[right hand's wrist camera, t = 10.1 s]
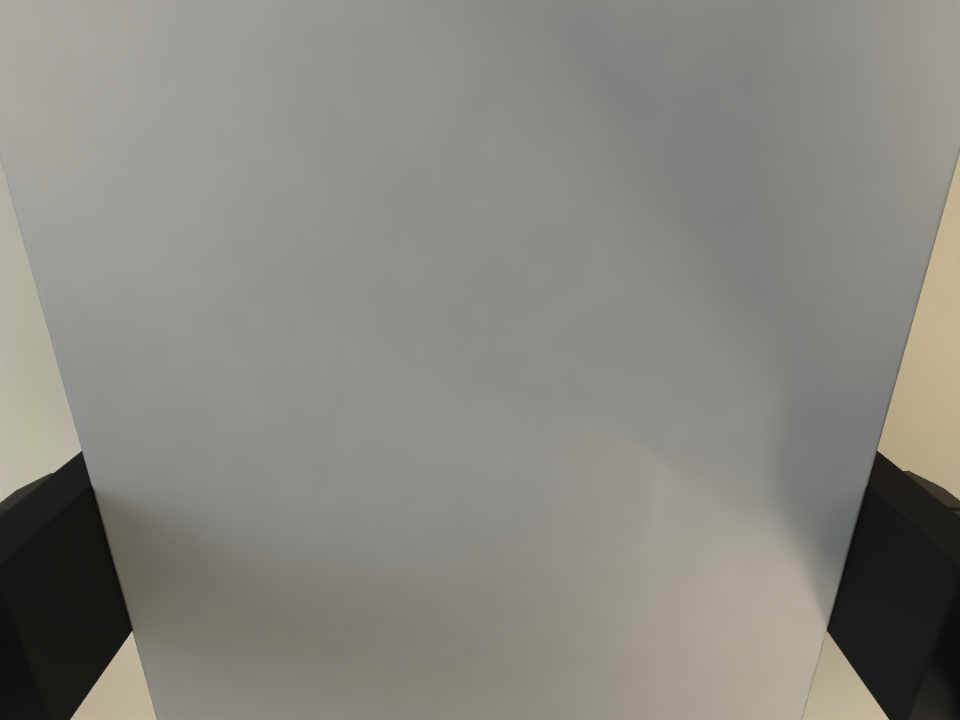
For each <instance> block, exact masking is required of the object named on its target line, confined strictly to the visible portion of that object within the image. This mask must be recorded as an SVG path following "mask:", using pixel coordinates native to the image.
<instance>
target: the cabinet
mask: <svg viewBox="0 0 960 720" xmlns="http://www.w3.org/2000/svg"><path fill="white" fill-rule="evenodd" d="M959 153H960V0H0V158H1V162H2V165H3V169H4V173H5V176H6V180H7V183H8V187H9V191H10V194H11V198H12V201H13V205H14V208H15V212H16V216H17V219H18V223H19V226H20V230H21V234H22V237H23V241H24V244H25V248H26V251H27V255H28V259H29V262H30V266H31V269H32V273H33V276H34V280H35V284H36V287H37V291H38V294H39V298H40V302H41V305H42V309H43V312H44V316H45V319H46V323H47V327H48V330H49V334H50V337H51V341H52V345H53V348H54V352H55V355H56V359H57V362H58V366H59V370H60V373H61V377H62V380H63V384H64V388H65V391H66V395H67V398H68V402H69V405H70V409H71V413H72V416H73V420H74V423H75V427H76V430H77V434H78V438H79V441H80V445H81V448H82V452H83V456H84V459H85V463H86V466H87V470H88V473H89V477H90V481H91V484H92V488H93V491H94V495H95V499H96V502H97V506H98V509H99V513H100V516H101V520H102V524H103V527H104V531H105V534H106V538H107V541H108V545H109V549H110V552H111V556H112V559H113V563H114V567H115V570H116V574H117V577H118V581H119V584H120V588H121V592H122V595H123V599H124V602H125V606H126V610H127V613H128V617H129V620H130V624H131V627H132V631H133V635H134V638H135V642H136V645H137V649H138V653H139V656H140V660H141V663H142V667H143V670H144V674H145V678H146V681H147V685H148V688H149V692H150V695H151V699H152V703H153V706H154V710H155V713H156V717H157V720H802V718H803V714H804V710H805V707H806V703H807V700H808V696H809V692H810V689H811V685H812V682H813V678H814V675H815V671H816V667H817V664H818V660H819V657H820V653H821V649H822V646H823V642H824V639H825V635H826V631H827V628H828V624H829V621H830V617H831V613H832V610H833V606H834V603H835V599H836V595H837V592H838V588H839V585H840V581H841V577H842V574H843V570H844V567H845V563H846V559H847V556H848V552H849V549H850V545H851V541H852V538H853V534H854V531H855V527H856V524H857V520H858V516H859V513H860V509H861V506H862V502H863V498H864V495H865V491H866V488H867V484H868V480H869V477H870V473H871V470H872V466H873V462H874V459H875V455H876V452H877V448H878V444H879V441H880V437H881V434H882V430H883V426H884V423H885V419H886V416H887V412H888V408H889V405H890V401H891V398H892V394H893V390H894V387H895V383H896V380H897V376H898V372H899V369H900V365H901V362H902V358H903V355H904V351H905V347H906V344H907V340H908V337H909V333H910V329H911V326H912V322H913V319H914V315H915V311H916V308H917V304H918V301H919V297H920V293H921V290H922V286H923V283H924V279H925V275H926V272H927V268H928V265H929V261H930V257H931V254H932V250H933V247H934V243H935V239H936V236H937V232H938V229H939V225H940V221H941V218H942V214H943V211H944V207H945V204H946V200H947V196H948V193H949V189H950V186H951V182H952V178H953V175H954V171H955V168H956V164H957V160H958V157H959Z"/></svg>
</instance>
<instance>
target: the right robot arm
mask: <svg viewBox="0 0 960 720" xmlns="http://www.w3.org/2000/svg"><path fill="white" fill-rule="evenodd" d="M827 631H828V633H829V634H830V636H831V637H832V638H833V640H834V641H835V643H836V644H837V646H838V647H839V648H840V650H841V651H842V653H843V654H844V656H845V657H846V658H847V660H848V661H849V663H850V664H851V666H852V667H853V668H854V670H855V671H856V673H857V674H858V676H859V677H860V678H861V680H862V681H863V683H864V684H865V686H866V687H867V688H868V690H869V691H870V693H871V694H872V696H873V697H874V698H875V700H876V701H877V703H878V704H879V706H880V707H881V708H882V710H883V711H884V713H885V714H886V716H887V717H888V718H889V720H960V500H958V499H957V498H956V497H954V496H953V495H952V494H950V493H949V492H948V491H947V490H945V489H944V488H942V487H940V486H938V485H936V484H934V483H932V482H930V481H928V480H926V479H924V478H922V477H920V476H918V475H916V474H914V473H912V472H910V471H902V470H901V469H900V468H898V467H897V466H896V465H895V464H893V463H892V462H891V461H889V460H888V459H887V458H886V457H884V456H883V455H882V454H881V453H879V452H878V451H877V452H876V455H875V459H874V462H873V466H872V470H871V473H870V477H869V480H868V484H867V488H866V491H865V495H864V498H863V502H862V506H861V509H860V513H859V516H858V520H857V524H856V527H855V531H854V534H853V538H852V541H851V545H850V549H849V552H848V556H847V559H846V563H845V567H844V570H843V574H842V577H841V581H840V585H839V588H838V592H837V595H836V599H835V603H834V606H833V610H832V613H831V617H830V621H829V624H828V628H827ZM131 632H132V627H131V624H130V620H129V617H128V613H127V610H126V606H125V602H124V599H123V595H122V592H121V588H120V584H119V581H118V577H117V574H116V570H115V567H114V563H113V559H112V556H111V552H110V549H109V545H108V541H107V538H106V534H105V531H104V527H103V524H102V520H101V516H100V513H99V509H98V506H97V502H96V499H95V495H94V491H93V488H92V484H91V481H90V477H89V473H88V470H87V466H86V463H85V459H84V456H83V452H82V451H81V452H80V453H79V454H77V455H76V456H75V457H74V458H72V459H71V460H70V461H69V462H67V463H66V464H65V465H64V466H62V467H61V468H60V469H58V470H57V471H56V472H55V473H50V474H48V475H46V476H44V477H42V478H40V479H38V480H36V481H34V482H32V483H30V484H28V485H26V486H24V487H22V488H20V489H18V490H16V491H15V492H14V493H12V494H11V495H10V496H8V497H7V498H6V499H5V500H3V501H2V502H1V503H0V720H70V719H71V717H72V716H73V715H74V713H75V712H76V710H77V709H78V707H79V706H80V705H81V703H82V702H83V700H84V699H85V697H86V696H87V695H88V693H89V692H90V690H91V689H92V687H93V686H94V685H95V683H96V682H97V680H98V679H99V677H100V676H101V675H102V673H103V672H104V670H105V669H106V667H107V666H108V665H109V663H110V662H111V660H112V659H113V657H114V656H115V655H116V653H117V652H118V650H119V649H120V647H121V646H122V645H123V643H124V642H125V640H126V639H127V638H128V636H129V635H130V633H131Z"/></svg>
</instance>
